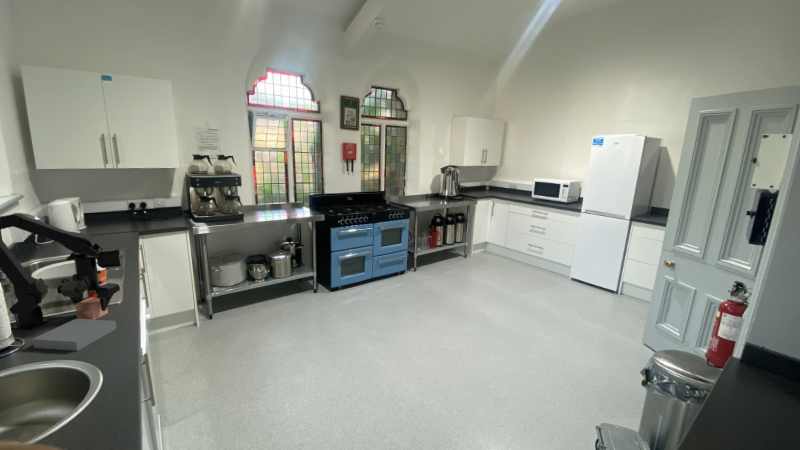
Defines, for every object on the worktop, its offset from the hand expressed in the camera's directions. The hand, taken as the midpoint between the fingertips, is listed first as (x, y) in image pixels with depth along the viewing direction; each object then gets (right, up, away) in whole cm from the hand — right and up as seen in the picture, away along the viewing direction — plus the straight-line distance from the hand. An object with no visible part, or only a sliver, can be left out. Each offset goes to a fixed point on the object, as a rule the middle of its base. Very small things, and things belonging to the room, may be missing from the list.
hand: (92, 310), depth 128 cm
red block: (0, -2, +1) cm, 2 cm away
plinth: (+8, -6, -15) cm, 18 cm away
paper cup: (-11, +1, +16) cm, 19 cm away
